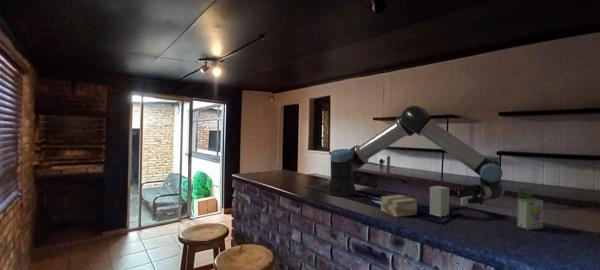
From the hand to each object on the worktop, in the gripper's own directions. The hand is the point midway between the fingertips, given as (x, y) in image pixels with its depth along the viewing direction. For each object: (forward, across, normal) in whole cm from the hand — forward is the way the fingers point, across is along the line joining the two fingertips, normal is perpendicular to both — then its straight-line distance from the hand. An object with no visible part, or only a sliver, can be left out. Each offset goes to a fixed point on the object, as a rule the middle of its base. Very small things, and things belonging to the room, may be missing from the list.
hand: (445, 197), depth 117 cm
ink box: (-11, -24, -7) cm, 28 cm away
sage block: (+3, +1, -7) cm, 7 cm away
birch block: (+15, +11, -7) cm, 19 cm away
